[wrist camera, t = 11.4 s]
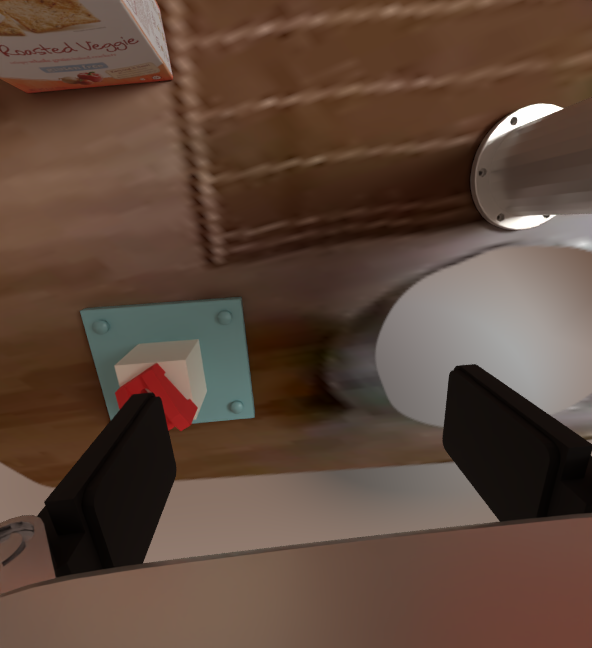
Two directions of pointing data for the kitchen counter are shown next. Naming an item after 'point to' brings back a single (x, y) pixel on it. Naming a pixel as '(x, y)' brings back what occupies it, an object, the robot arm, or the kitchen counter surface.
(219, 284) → the kitchen counter surface
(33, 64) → the cracker box
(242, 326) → the baseplate
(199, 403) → the base block
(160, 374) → the bracket
